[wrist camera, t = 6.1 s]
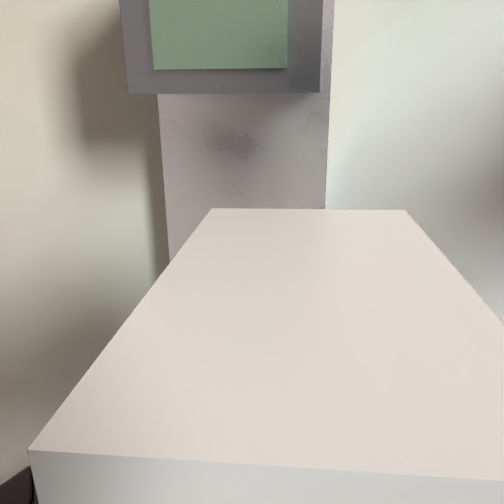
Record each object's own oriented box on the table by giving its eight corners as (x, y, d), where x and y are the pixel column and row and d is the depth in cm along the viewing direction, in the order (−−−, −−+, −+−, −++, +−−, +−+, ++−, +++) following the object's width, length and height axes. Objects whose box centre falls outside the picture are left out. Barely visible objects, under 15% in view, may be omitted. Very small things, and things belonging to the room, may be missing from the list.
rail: (337, -109, 17) (352, -213, 11) (315, 389, 24) (316, 485, 19) (154, -99, 18) (78, -190, 12) (186, 380, 25) (149, 470, 19)
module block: (405, 209, 9) (667, 511, 3) (382, 446, 11) (499, 961, 5) (212, 208, 10) (14, 465, 3) (222, 436, 12) (116, 898, 5)
